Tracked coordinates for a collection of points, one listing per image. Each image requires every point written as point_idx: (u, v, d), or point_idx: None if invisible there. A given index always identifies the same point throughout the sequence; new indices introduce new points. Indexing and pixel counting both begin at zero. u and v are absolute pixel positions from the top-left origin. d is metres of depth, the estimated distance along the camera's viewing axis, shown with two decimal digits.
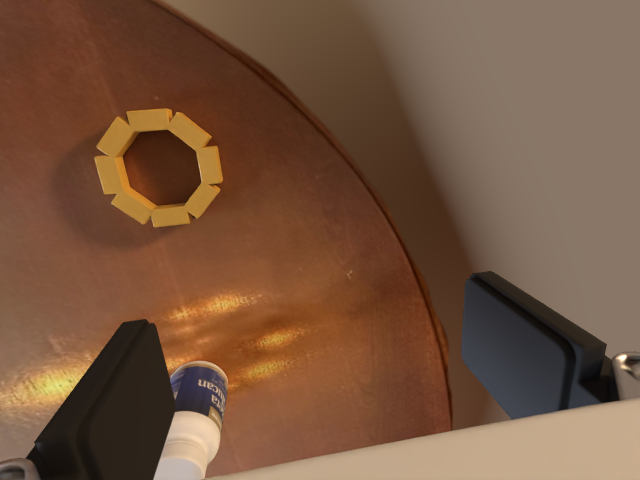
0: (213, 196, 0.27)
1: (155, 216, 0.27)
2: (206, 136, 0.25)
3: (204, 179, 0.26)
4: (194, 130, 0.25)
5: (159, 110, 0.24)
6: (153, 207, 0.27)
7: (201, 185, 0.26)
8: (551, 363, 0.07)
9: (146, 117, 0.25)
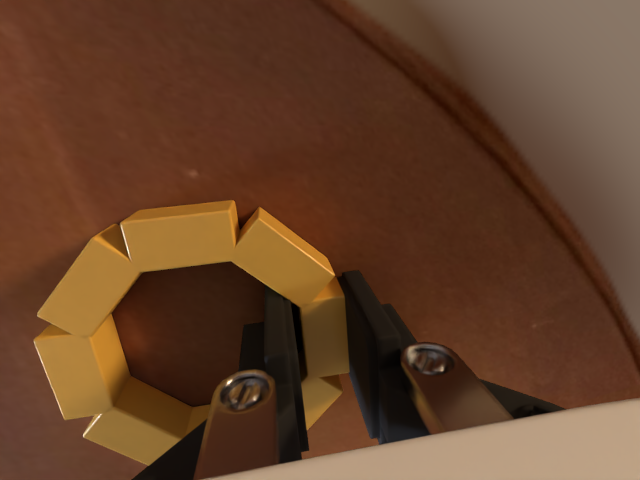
0: (331, 401, 0.11)
1: None
2: (328, 273, 0.10)
3: (313, 368, 0.11)
4: (299, 261, 0.10)
5: (211, 216, 0.09)
6: (186, 425, 0.11)
7: (305, 381, 0.11)
8: (365, 353, 0.08)
9: (174, 236, 0.09)
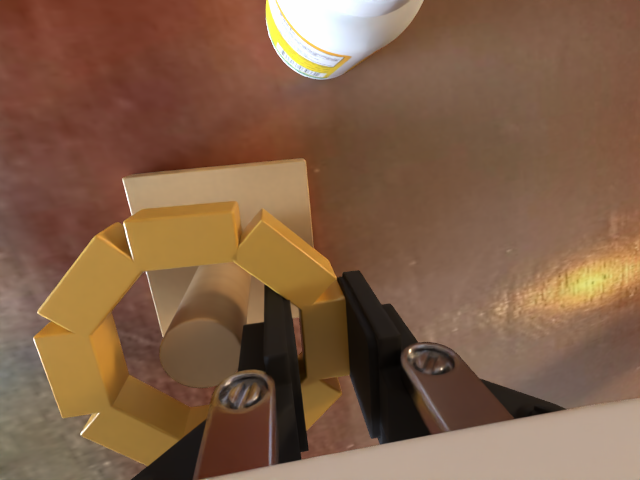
0: (329, 403, 0.11)
1: None
2: (330, 275, 0.10)
3: (313, 370, 0.11)
4: (301, 263, 0.10)
5: (214, 216, 0.09)
6: (184, 425, 0.11)
7: (304, 383, 0.11)
8: (366, 353, 0.08)
9: (177, 236, 0.09)
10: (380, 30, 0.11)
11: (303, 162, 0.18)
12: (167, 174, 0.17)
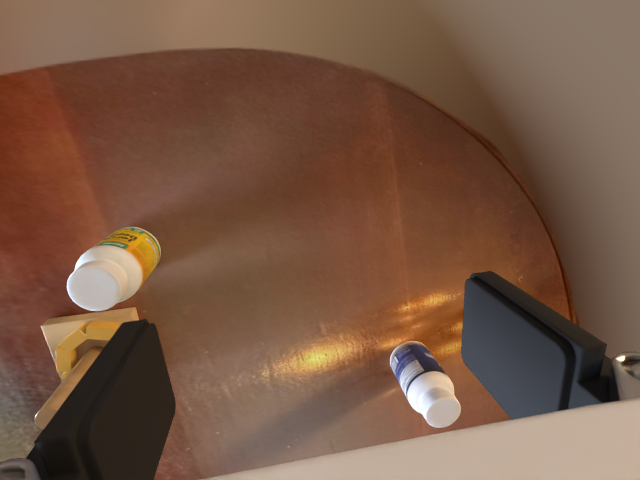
0: None
1: None
2: None
3: None
4: None
5: (109, 329, 0.36)
6: None
7: None
8: (551, 363, 0.07)
9: (98, 332, 0.36)
10: (119, 299, 0.31)
11: (129, 314, 0.37)
12: (62, 323, 0.37)
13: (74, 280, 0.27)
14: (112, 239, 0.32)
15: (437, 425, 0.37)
